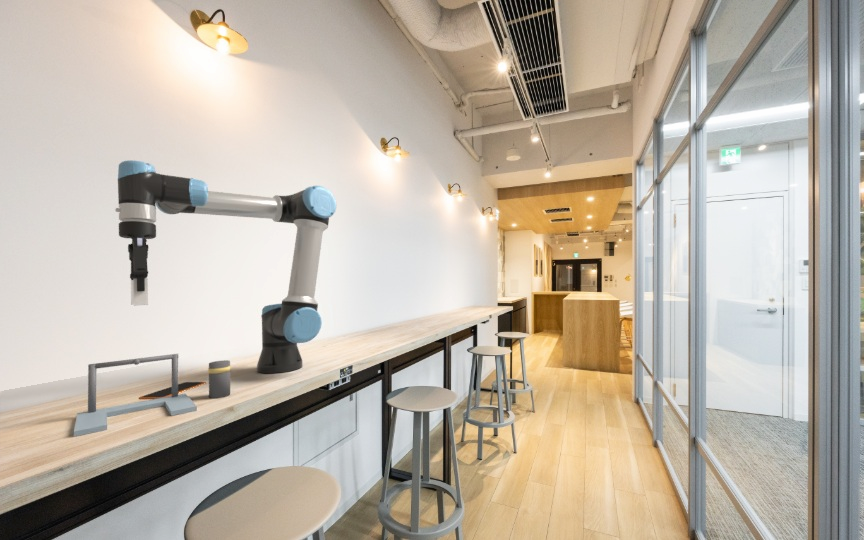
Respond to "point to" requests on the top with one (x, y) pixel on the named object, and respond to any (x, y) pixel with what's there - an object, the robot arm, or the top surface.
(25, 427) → the top surface
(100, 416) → the arch on base
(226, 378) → the yellow-banded grey cylinder
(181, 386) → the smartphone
